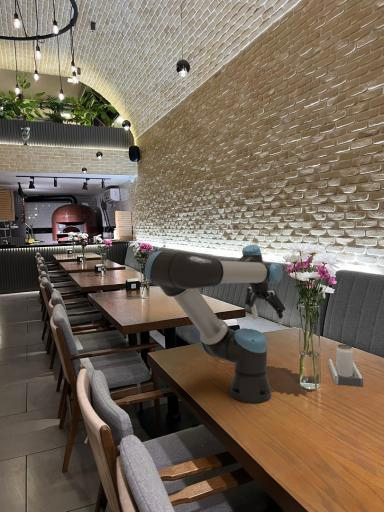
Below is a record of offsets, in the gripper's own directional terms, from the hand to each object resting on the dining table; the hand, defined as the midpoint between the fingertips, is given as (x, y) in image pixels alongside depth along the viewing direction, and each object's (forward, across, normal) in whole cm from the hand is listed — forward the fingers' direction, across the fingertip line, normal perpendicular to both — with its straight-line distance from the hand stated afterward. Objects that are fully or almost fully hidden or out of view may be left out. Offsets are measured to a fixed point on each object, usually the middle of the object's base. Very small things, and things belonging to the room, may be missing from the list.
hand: (268, 320), depth 172 cm
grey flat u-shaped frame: (+21, -31, -3) cm, 38 cm away
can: (+22, -31, -4) cm, 38 cm away
